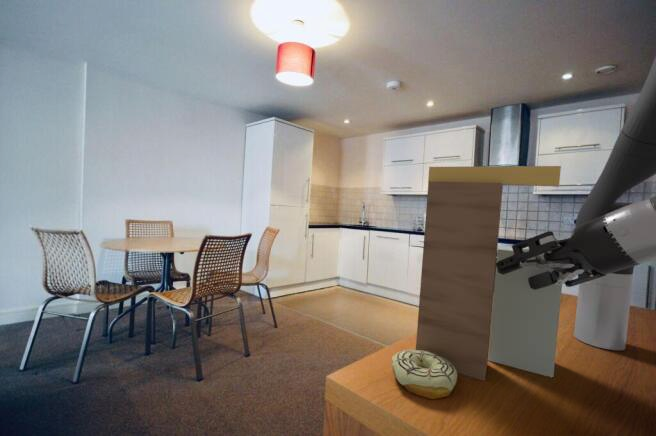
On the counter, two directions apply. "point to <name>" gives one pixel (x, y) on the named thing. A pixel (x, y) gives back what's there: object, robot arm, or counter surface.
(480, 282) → the walnut pillar
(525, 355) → the grey-green block
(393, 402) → the counter surface
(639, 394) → the counter surface
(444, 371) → the decorated donut
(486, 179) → the ochre bar
